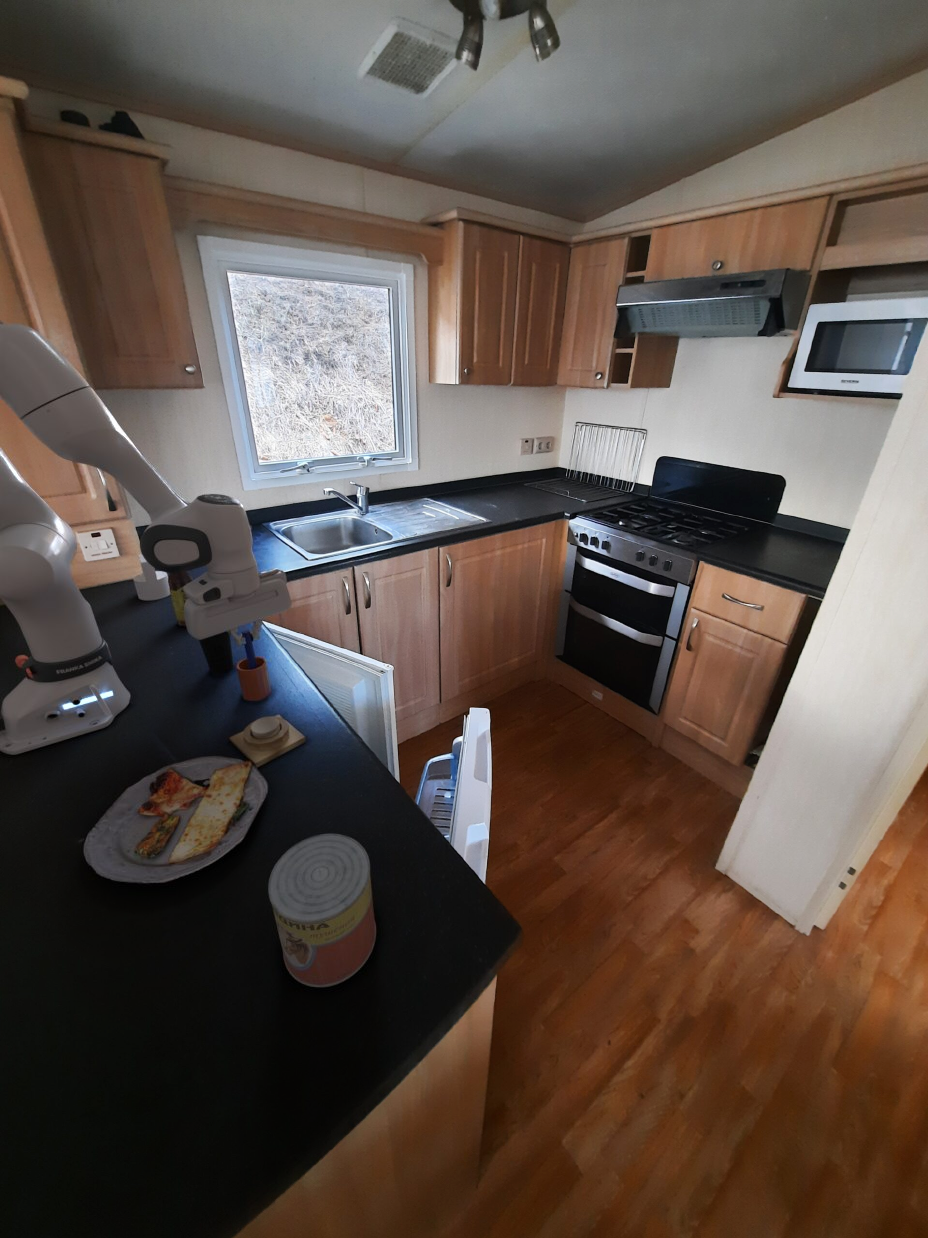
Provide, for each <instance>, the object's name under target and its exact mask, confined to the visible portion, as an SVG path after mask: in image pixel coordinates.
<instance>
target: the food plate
mask: <svg viewBox="0 0 928 1238" xmlns="http://www.w3.org/2000/svg"><path fill="white" fill-rule="evenodd" d="M208 779H209V780H208ZM203 780H205V781H204V782H203V784H202V785H199V784H197V783H196V782H195V781H203ZM203 785H204V786H203ZM207 785H209V786H207ZM268 791H269V783H268V781H267V779H266V777H264V775H263V774H262V773H261V772H260V770H259V769H258V767H256V766H254V765H253V763H252V762H251V761H250V760H243V759H240V758H235V757H231V756H229V757H228V756H222V755H208V756H199V757H195V758H194V757H193V758H191V759H190V758H189V759H185V760H183V761H179V762H175V763H171V764H167V765H165V766H163V767H161V768H160V769H157V770H156V771H154V772H153V773H151V774H149V775H146V776H144V777H143V778H141V779H140V780H139V781H138V782H136V783H134V784H133V785H131V786H129V787H128V788H126V789H125V790H124V791H123V792H122V793H121V795H119V796H118V798H117V799H116V800H115V801H114V802H113V803H112V805H111V806H110V807H109V808H108V809H107V810H106V812H105V813H104V814H103V815H102V817H100V818H99V819H98V821H97V823H96V824H95V826H93V827H92V828H91V830H90V831H89V832H88V833H87V836H86V838H85V840H84V843H83V856H84V858H85V862H87V864H88V866H91V868H92V869H93V870H94V871H95V874H98V875H99V876H100V877H104V878H106V879H109V880H111V881H114V882H120V883H121V882H123V883H130V884H132V883H135V884H137V883H138V884H154V883H155V884H159V883H160V884H161V883H168V882H170V881H173V880H176V879H179V878H180V877H186V876H187V875H189V874H193V873H195V872H196V871H200V870H202V869H203V868H206V867H208V866H210V865H211V864H213V863H214V862H216V861H218V860H220V858H222V857H224V856H225V855H226V854H228V853H229V852H231V850H233V849H234V848H235V847H236V846H237V845H238V844H240V843H241V842H242V841H243V840H244V838H245V837H246V835H247V833H248V831H249V829H250V828H251V825H253V822H254V821H255V819H256V817H257V814H258V813H259V810H260V809H261V807H262V805H263V803H264V801H265V799H266V797H267V795H268Z"/></svg>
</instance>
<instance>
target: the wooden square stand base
mask: <svg viewBox="0 0 928 1238" xmlns="http://www.w3.org/2000/svg"><path fill="white" fill-rule="evenodd" d="M270 717H275V718H277V719H278V720H279V723H280V731H279V733H278V734H277V735H275V736H273V737H271V738H268V739H262V740H260V739H255V738H254V737H253V736H252V732H251V725H252V724H253V722H255V721H256V720H254V721H251V722H249V724H248V725H247V726H246V727H245V728H244V729H243V731H241V732H238V733H236V734H234V735H232V736H230V737H229V741H230V742H231V743H232V744H233V745H234V746H235V747H236V748H237V749H238V750H239V751H240V752H241V753H242V754H243V755H244V756H245V757H246V758H247V759H248V761H250V762H251V763H252V765H253V766H256V767H257V768H259V767H262V766H264V765H265V764H267V763H269V762H270V761H272V760H274V759H276V758H278V757H280V756H282V755H283V754H286V753H287V752H289V751H291V750H293V749H295V748H296V747H299V746H300V745H302V744H304V743H306V742H307V741H306V736H305V735H304V734H302V733H301V732H300V731H299V730H297V729H296V728H295V727H294V726H293V725H292V724H291V723H289V722H288V721H287V720H285V719H284V717H283V716H281V715H280V714H276V715H274V716H273V715H271V716H270Z"/></svg>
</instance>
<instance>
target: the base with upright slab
mask: <svg viewBox="0 0 928 1238" xmlns="http://www.w3.org/2000/svg"><path fill="white" fill-rule="evenodd" d="M138 560H139V563H140V566H141V570H142V573H138V574H137V575H135V576H134V577H132V581H133V583H134V588H135V590H136V595H137V597H138V599H139V600H142V601H157V600H160V599H164V598H167V597H168V596H171V594H170V590H169V588H170V587H169V583H168V577H169V574H168V573H167V572H163V571H160V570H156V568H154V567H153V566H151V565H150V564H149V563H148V562H147V561H146V560H145V558H144V557H143V555H142V553H139V554H138Z"/></svg>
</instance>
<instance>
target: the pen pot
mask: <svg viewBox="0 0 928 1238" xmlns="http://www.w3.org/2000/svg"><path fill="white" fill-rule="evenodd" d="M255 658H256V663H257V668H256V669H252V670H250V669H249V665H248V660H247V657H246V658H243V659H241V660H239V661H238V662H237V663H236V670H237V671H236V672H237V675H238V682H239V686H240V691H241V694H242V698H243V699H244V700H246V701H250V702H255V701H256V702H257V701H260V700H263V699H265V698H266V699H267V697H269V696H270V695H271V693H272V686H271V680H270V675H269V671H268V670H269V669H268V664H267V659H265V658H264V657H262V656H255Z"/></svg>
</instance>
